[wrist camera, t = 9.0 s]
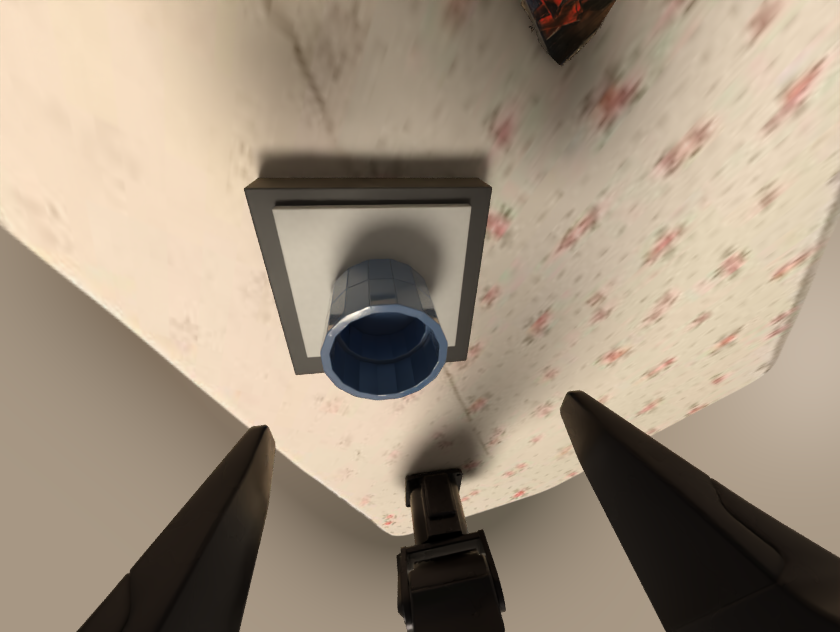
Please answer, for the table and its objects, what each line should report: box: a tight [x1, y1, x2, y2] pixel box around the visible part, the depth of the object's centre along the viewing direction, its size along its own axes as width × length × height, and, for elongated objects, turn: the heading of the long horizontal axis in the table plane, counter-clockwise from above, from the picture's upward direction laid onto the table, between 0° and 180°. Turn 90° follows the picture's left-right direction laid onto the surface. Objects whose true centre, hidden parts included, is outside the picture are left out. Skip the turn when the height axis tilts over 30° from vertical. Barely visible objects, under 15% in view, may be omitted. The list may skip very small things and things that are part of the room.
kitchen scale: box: [244, 178, 492, 375], centre depth 19 cm, size 12×12×3 cm
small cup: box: [320, 259, 448, 400], centre depth 16 cm, size 6×6×5 cm
